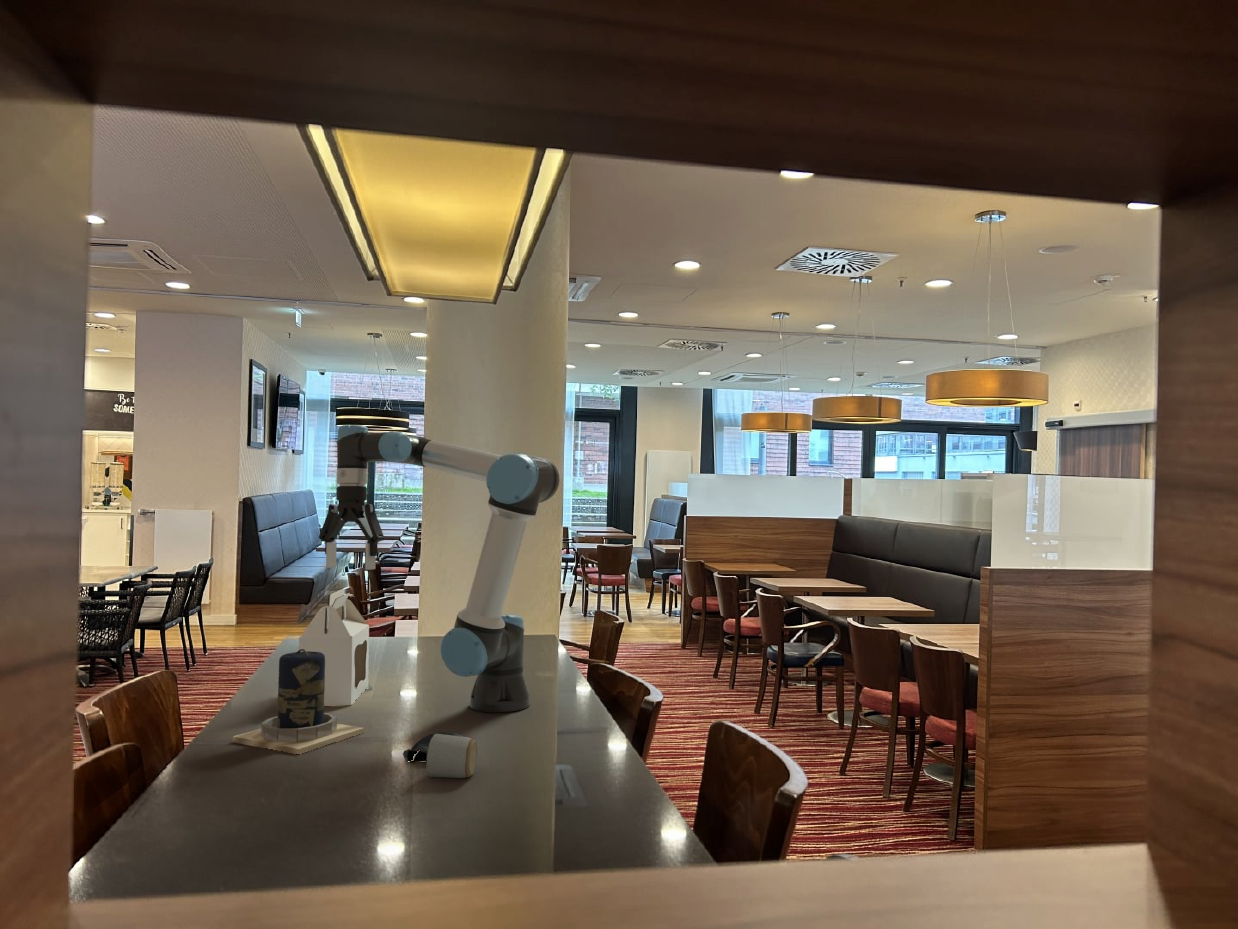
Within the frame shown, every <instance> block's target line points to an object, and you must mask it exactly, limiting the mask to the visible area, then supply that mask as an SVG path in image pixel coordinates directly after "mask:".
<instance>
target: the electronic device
mask: <svg viewBox="0 0 1238 929" xmlns="http://www.w3.org/2000/svg"><path fill="white" fill-rule="evenodd" d="M435 734H443V735H452V736H461V737H463V736H462V735H461V734H459V733H456V732H451V731H450V732H436V733H432V734H428V735H425V736H423V737H422V738H420V739H419V740H418V741H416V742H415V744H414V745H413V746H412V747H411V748H407V749H406V750H403V752H402V756H403V759H404V760H405V763H406V762H408V761H411V760H413V756H414V754H416V753H417V751H419V750H421V753H425V754H426V755H427V752H428V747H429V743H430V741H431V739H432V737H433V735H435Z"/></svg>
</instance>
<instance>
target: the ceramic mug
mask: <svg viewBox="0 0 1238 929" xmlns="http://www.w3.org/2000/svg"><path fill="white" fill-rule="evenodd" d="M434 734H435V733H434ZM461 736H462V735H461ZM461 736H452V735H443V734H435V735H433V737H432V739H431V741H430V743H429V747H428V752H427V754H426V760H427V761H426V762H427V763H425V764H426V773H427V775H428V777H429V778H443V777H445V778H446V779H447V778H450V779H451V778H453V779H465V778H466V777H467V778H470V777H471V776H473V775H474V772H475V770H476V766H477V760H478V754H479V752H478V750H479V749H478V748H479V747H478V743H477V741H476V740H475V739H474V738H471V737H468V736H462V737H461Z"/></svg>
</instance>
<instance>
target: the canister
mask: <svg viewBox="0 0 1238 929" xmlns="http://www.w3.org/2000/svg"><path fill="white" fill-rule="evenodd" d="M300 651H304V652H300ZM277 686H278V690H277V692H278V694H277V716H278V719H277V727H278V728H280V729H289V728H304V727H311V726H317V725H320V724H323V723H324V713H325V707H324V691H325V656H324V654H323V653H321V652H311V651H305V650H304V649H300V650H299V649H298V650H297V651H293V652H288V653H285V654H282V655H281V656H280V657H279V661H278V685H277Z"/></svg>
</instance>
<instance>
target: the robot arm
mask: <svg viewBox="0 0 1238 929" xmlns="http://www.w3.org/2000/svg"><path fill="white" fill-rule="evenodd" d="M336 439H337V440H336V456H337V457H336V458H337V459H336V460H337V465H336V484H338V485H337V487H336V489H335V492H336V493H335V494H336V495H335V496H336V497H335V499H336V500H337V502H338V503H335V504H334V503H330V504H329V505H328V508H327V514H326V517H325V520H324V522H323V525H322V527H321V530H320V533H319V535H318V540H320V541H321V540H322V541H323V542H324V547H325V548H324V553H325V554H324V555H326V556H325V558H326V559H325V568H326V569H330V568H331V569H332V568H333V569H334V568H337V542H336V538H337V537H338V535H339V534H340V532H341V531H342V529H343V528H344V526H345V524H347V523H348V522H350V523H352V522H354V523H355V524H357V526H358V528H359V529H360V530H361V533H362V534H363V536H364V537H365V538H366V540H367V542H366V543H365V565H364V566H365V567H364V568H365V571H368V570H376V563H377V562H376V557H377V556H378V544H379V542H381V541H385V536H384V533H383V531H382V527H381V525H380V521H379V519H378V517H377V516H378V515H377V513H376V505H375V504H373V503H372V504H371V503H366V502H365V501H366V500H368V499H367V498H368V487H367V486H366V485H367V484H368V463H373V462H374V463H382V462H383V463H393V464H394V463H395V464H409V465H414V466H419V467H422V468H426V469H431V470H436V471H440V472H445V473H449V474H453V475H457V476H460V477H465V478H467V479H468V478H470V479H472V480H477V481H480V482H481V481H482V482H486V484H485V485H486V487H487V490H488V493H489V494H490V495H489V498H488V502H487V505H488V506H489V508H490V511H491V515H490V519H489V522H488V525H487V530H486V534H485V537H484V541H483V543H482V544H483V545H482V548H481V551H480V556H479V559H478V562H477V563H478V564H477V567H476V570H475V574H474V577H473V581H472V585H471V588H470V593H469V595H468V599H467V603H466V607H465V608H463V609H461V610H460V611H458V612H457V615H456V618H455V619H456V620H455V621H454V622H455V623H454V626H453V628H452V629H449V631H447V632H446V633H445V635H444V636H443V638H442V639H441V643H440V656H441V659H442V661H443V662H444V663H443V664H445V667H446V668H447V669H448V670H449V672H451V673H452V674H454V675H456V676H459V677H462V678H463V677H465V678H466V677H474V676H476V678H475V682H474V685H473V688H472V689H471V690H472V691H471V695H470V697H469V708H471V709H472V710H475V711H478V712H484V713H508V712H515V711H517V712H518V711H520V710H525V709H526V708H528V707H530V705H531V695H530V692H529V688H528V685H527V682H526V679H525V675H524V648H525V647H524V644H525V642H524V636H525V635H524V632H525V628H524V619H523V617H522V616H520V615H514V614H503V610H504V606H505V604H506V599H507V595H508V592H509V588H510V584H511V581H512V578H513V574H514V570H515V566H516V564H517V560H518V556H519V552H520V549H521V546H522V541H523V538H524V535H525V532H526V528H527V527H526V526H527V523H528V522H529V520H531V519H533V518H534V517H536V514H537V511H538V508H539V504H540V503H543V502H544V503H545V502H546V501H548V500H550V499H551V498H552V497H553V496H555V494H556V493H557V490H558V489H559V486H560V474H559V470H558V468H557V466H556V465H555V464H554V463H553V462H552V461H551V460H550V459H548V458H546V457H544V456H539V455H533V454H527V453H526V454H525V453H520V452H516V453H515V452H513V453H507V454H504V455H501V454H496V453H494V452H488V451H483V450H480V449H475V448H470V447H467V446H461V445H457V444H452V443H448V442H443V441H438V440H433V439H430V438H427V437H424V436H418V435H408V434H406V433H405V432H403V431H394V430H393V431H391V430H390V431H385V432H384V431H383V432H369V428H368V427H367V426H366V425H360V424H343V425H341V426H339V427H338V430H337V438H336Z"/></svg>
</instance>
